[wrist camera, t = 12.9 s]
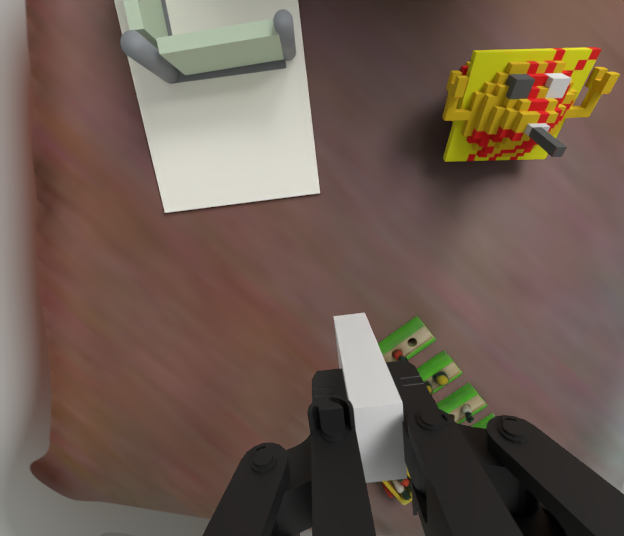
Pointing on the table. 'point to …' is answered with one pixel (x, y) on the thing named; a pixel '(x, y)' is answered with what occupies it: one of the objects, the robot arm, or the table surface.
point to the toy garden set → (430, 387)
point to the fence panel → (231, 45)
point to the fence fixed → (147, 37)
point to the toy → (519, 101)
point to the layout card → (228, 116)
